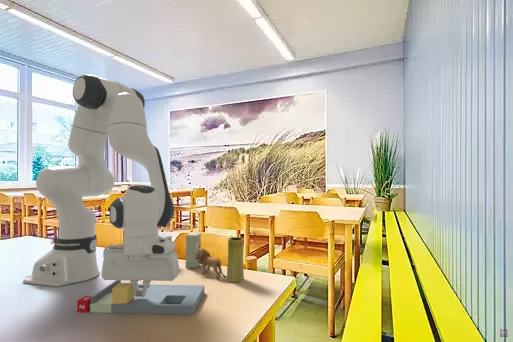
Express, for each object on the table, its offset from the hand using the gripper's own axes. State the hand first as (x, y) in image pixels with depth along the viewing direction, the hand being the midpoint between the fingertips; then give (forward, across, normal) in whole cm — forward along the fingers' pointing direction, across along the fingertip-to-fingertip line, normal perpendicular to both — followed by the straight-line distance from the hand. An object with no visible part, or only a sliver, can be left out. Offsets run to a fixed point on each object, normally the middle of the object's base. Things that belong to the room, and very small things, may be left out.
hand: (140, 295), depth 77 cm
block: (+1, -4, -1) cm, 4 cm away
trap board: (+3, +2, +3) cm, 5 cm away
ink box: (+3, -7, +35) cm, 36 cm away
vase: (+3, +24, +22) cm, 32 cm away
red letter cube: (+3, -14, -2) cm, 14 cm away
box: (+3, +6, +36) cm, 36 cm away
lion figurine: (+3, +14, +26) cm, 30 cm away
